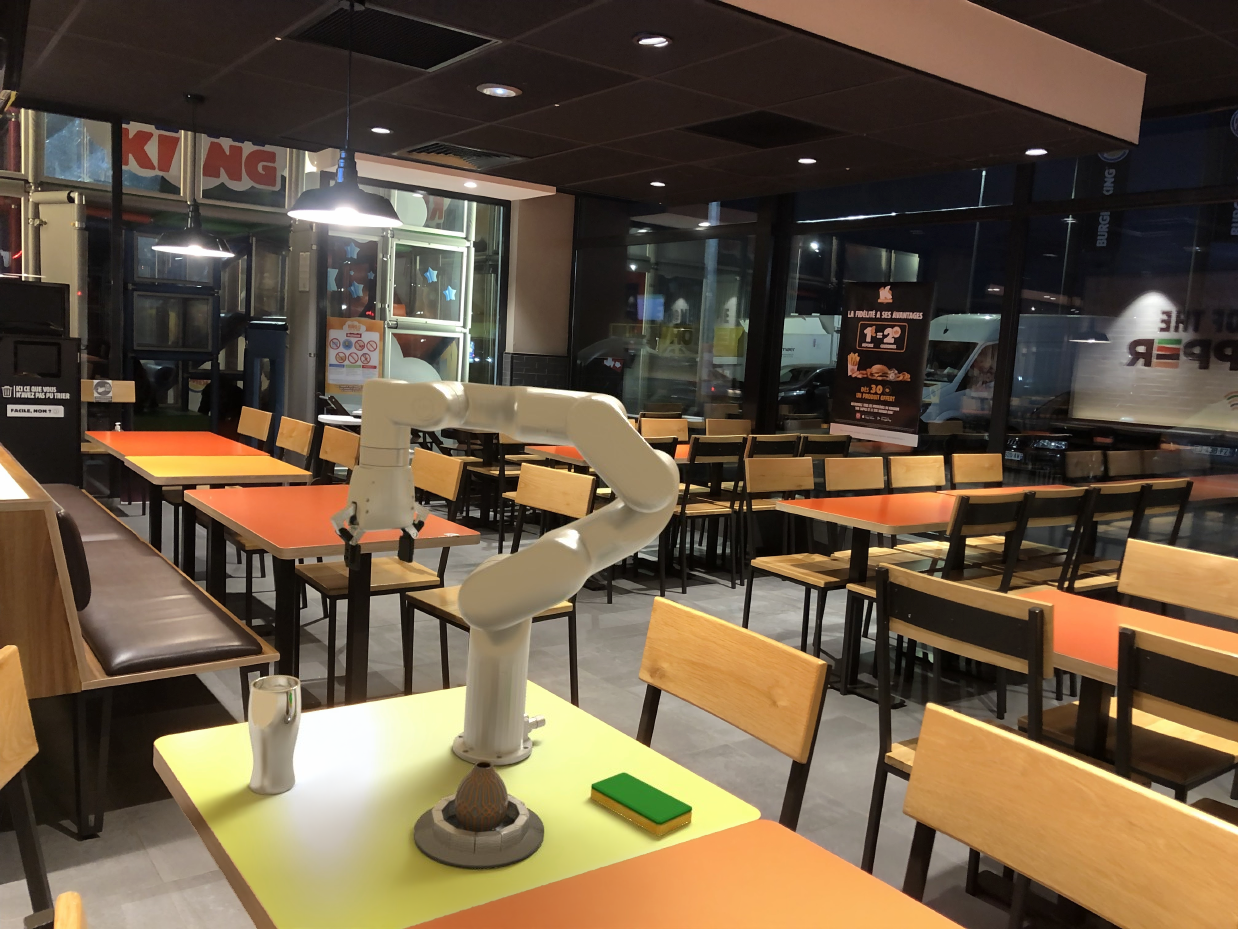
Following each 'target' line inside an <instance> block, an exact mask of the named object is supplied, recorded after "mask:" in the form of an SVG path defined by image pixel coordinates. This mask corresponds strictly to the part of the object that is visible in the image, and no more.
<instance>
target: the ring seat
mask: <svg viewBox="0 0 1238 929" xmlns="http://www.w3.org/2000/svg"><path fill="white" fill-rule="evenodd" d="M507 794H508V805H507V811H506V815H505V817H504V819H503V821H502V823H501V824H500V825H499V827H498V828H496V829H495V830H494V831H487V832H472V831H466V830H465V829H464V828H463V827H462V826H461V825H460V824H459V822H458V820H457V817H456V813H455V797H456V793H454V794H451V795H447V796H445V797H442V798H441V799H440V800H439V801H438V802H437V803H436V804H435V805H434V806H433V807H431V808H429V809H427V810H426V811H425V812H423V814H421V815H420V817H418V819H417V820H416V822H415V825H414V828H413V841H414V845H415V846H416V847H417V849H418V850H419V852H421V854H423V855H424V856H425V857H427V858H428V859H430V860H432V861H434V862H437V863H439V864H442V865H445V866H448V867H452V868H458V869H465V870H489V869H490V870H492V869H498V868H504V867H509V866H511V865H515V864H518V863H520V862H522V861H524V860H526V859H528V858H530V857H531V856H533V855H534V854H535V853H536V852H537V851H538V850H539V849H540V847H541V846H542V844H543V842H544V838H545V826H544V823H543V821H542V819H541V817H539V815H538V814H537V813H536V812H534V811H533V810H531V809H530V808H529V807H527V805H526V803H525V802H524V801H522V800H521V799H519V798H517V797H515V796H513V795H511V794H510V793H508V792H507Z"/></svg>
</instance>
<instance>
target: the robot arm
mask: <svg viewBox="0 0 1238 929" xmlns="http://www.w3.org/2000/svg"><path fill="white" fill-rule="evenodd" d="M361 398H362V399H361V401H362V402H361V420H360V423H361V424H360V442H359V444H360V445H359V446H360V447H359V463H358V464H359V465H354V466H353V470H352V474H351V476H350V481H349V486H348V493H347V498H346V499H347V500H346V506H345V507H343V508H342V509H341V510H339V511H337V512H335V513H334V514H333V515H331V516H330V523H331V524H332V527H333V528H334V533H336V535H337V536H338V537H339V538H340V539H341V542H343V543H344V558H343V559H344V560H343V561H344V563H345V564H344V565H345V567H346V568H347V569H351V570H353V571H359V570H360V569H361V556H362V555H361V553H362V547H361V544H360V543H359V542H360V541H361V539H362V537H363V536H364V535H365V534H366V533H368V532H370V533H371V532H381V531H382V532H383V531H390V530H399V531H400V532H401V534H402V535H399V538H398V551H397V552H398V553H397V559H398V560H399V561H402V562H404V563H408V564H412V563H413V562H414V561H413V560H414V555H415V539H417V538H418V537H419V532H421V530H422V529H423V528H424V526H425V522H426V521H427V518H428V516H429V515H430V509H429V508H427V507H425V506H423V505H421V504H420V503H418V502H416V498H415V496H416V494H415V482H414V474H413V473H414V472H413V469H412V468H413V467H412V466H410V459H413V458H414V457H415V456H416V453H415V451H414V449H411V430H412V429H415V430H416V429H417V430H419V431H425V432H434V431H439V430H444V429H448V428H459V429H460V428H461V429H469V430H480V431H481V430H482V431H486V432H487V431H489V432H494V433H499V434H503V435H506V436H508V437H509V438H511V439H512V440H515V441H518V442H523V443H530V444H540V445H541V444H542V445H543V444H545V445H552V446H554V445H555V446H561V447H562V446H563V447H573V448H575V450H576V451H577V452H578V453H579V455H580V456H581V457H582V458H583V459H584V461H585V462H586V463H587V464H588V465H589V466H590V468H592V470H594V472H595V473H596V474H597V475H598V476H599V478H600V479H602V481H603V482H604V483H605V484H606V485H607V486H608V488H609V489H610V490H611V491H612V492H613V493H614V494H615V495H616V496H617V498H616V499H614V500H613V501H611V502H610V503H609V504H606V505H605V506H602V507H601V508H599V509H597V510H596V511H594V512H592V513H590V514H587V515H585V516H583V517H582V518H579V519H577V520H574V521H571V522H570V523H567V524H566V525H563V526H561V527H557V528H555V529H552V530H550V531H548V532H546V533H544V534H543V535H541V536H540V537H539V538H538V540H536V541H535V542H534V543H533V544H530V545H529V546H527V547H525V548H522V549H521V550H520V549H519V551H517V552H514V553H498V554H494V555H493V556H490V557H489V558H487V559H485V560H484V561H483V562H482V563H480V564H479V565H478V566H477V567H476V568H475V569H474V570H473V571H472V572H471V573H469V575H468V576H467V577H466V578H465V579H464V580H463V581H462V583H461V585H460V587H459V589H458V593H457V601H456V602H457V603H456V604H457V610H458V612H459V616H460V617H461V618H462V619H463V621H464V622H465V623H466V624H467V625H468V626H470V628H469V629H470V630H469V636H468V638H469V640H468V653H467V667H466V668H467V669H466V683H465V684H466V685H465V686H466V687H465V699H464V700H465V703H464V720H463V722H464V723H463V724H464V725H463V731H462V732H461V733H458V734H457V735H456V736H455V737H454V739H453V742H452V750H453V752H454V754H455V755H456V756H458V757H459V758H460V759H462V760H463V761H466V762H469V763H472V764H475V763H476V762H478V761H489V762H491V763H492V764H493V766H505V765H510V764H515V763H519V762H520V761H524V760H525V759H526V758H528V757H529V756H530V755H531V753H532V751H533V740H532V739H531V737H529V734H531V733H532V731H533V730H536V729H539V728H542V727H545V725H546V718H545V717H544V715H542V714H539V715H536V716H533V717H529V714H527V713H526V702H527V701H526V700H527V683H528V670H529V657H530V644H531V632H532V631H531V630H532V622H533V617H535V616H537V615H538V614H541V613H543V612H545V611H548V610H549V609H551V608H553V607H555V606H558V605H560V604H562V603H564V602H565V601H567V600H569V599H571V598H572V597H573V596H574V595H575V594H577V593H578V592H579V591H580V590H581V589H582V587H583V586H584V584H585V583H586V581H587V579H588V578H590V577H591V576H593V575H594V574H596V573H598V572H600V571H602V570H603V569H606V568H608V567H610V566H612V565H614V564H616V563H618V562H619V561H622V560H624V559H626V558H627V557H630V556H631V555H633V554H635V553H637V552H639V551H640V550H642V549H643V548H645V547H646V546H648V545H649V544H650V543H652V542H653V541H654V540H655V539H657V537H658V536H659V535H661V532H663V530H664V529H665V528H666V526H667V525H668V524H669V522H670V520H671V518H672V516H673V514H674V512H675V509H676V506H677V503H678V499H679V492H680V481H681V480H680V471H679V467H678V465H677V463H676V461H675V460H674V459H673V457H672V456H671V455H670V454H668V453H666V452H665V451H663V450H659V449H654V448H653V447H652V446H651V445H650V444H649V443H648V442H647V441H646V440H645V439H644V437H642V436H641V434H640V433H639V432H638V431H637V429H636V428H635V427H634V426H633V425H632V423H631V422H630V421H629V420H628V412H627V411H626V408H625V405H624V404H623V403H622V401H620V400H619V399H618V398H616V397H615V396H612V395H610V394H609V395H608V394H605V393H597V392H587V391H576V390H566V389H555V388H545V387H544V388H543V387H536V386H535V387H533V386H525V385H524V386H523V385H515V386H506V385H495V384H486V383H485V384H484V383H475V382H462V381H457V380H456V381H454V380H434V381H421V382H420V381H419V382H409V381H406V380H402V379H397V378H395V379H394V378H386V377H385V378H383V377H382V378H381V377H373V378H369V379H367V380H366V381H364V384H363V386H362V394H361ZM415 513H416V516H415ZM414 518H415V519H414ZM345 524H346V525H347V526H348V528H346V525H345Z"/></svg>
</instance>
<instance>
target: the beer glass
mask: <svg viewBox="0 0 1238 929" xmlns="http://www.w3.org/2000/svg"><path fill="white" fill-rule="evenodd" d="M247 709H248V710H247V711H248V712H247V716H248V717H247V719H248V720H247V722H248V724H247V726H248V733H249V737H250V738H249V740H250V745H251V751H252V752H251V753H252V760H253V762H252V770H251V771H252V772H251V776H250V780H249V789H250V790H251V791H252V792H253V793H255V794H258V795H266V796H270V795H271V796H272V795H278V794H283V793H285V792H288V791H289V790H291V789H292V788H293V787H294V786H295V785H296V775H295V770H294V753H295V748H296V743H297V739H298V734H299V729H300V723H301V716H302V692H301V681H300V679H299V678H297V677H294V676H291V675H286V674H285V675H283V674H282V675H281V674H278V675H277V674H275V675H274V674H273V675H267V676H263V677H262V676H261V677H259V678H256V679H255V680H253V681H252V682H251V683H250V691H249V699H248V708H247Z"/></svg>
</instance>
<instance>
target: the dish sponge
mask: <svg viewBox="0 0 1238 929" xmlns="http://www.w3.org/2000/svg"><path fill="white" fill-rule="evenodd" d="M590 786H591V787H590V788H591V789H590V799H591V800H594V801H595V800H596V801H595V802H597V803H599V802H600V803H599V804H601V803H602V804H603V805H602V804H601V805H602V806H604V805H605V806H604V807H606V806H607V807H606V808H608V807H609V808H610V809H609V808H608V809H609V810H611V809H612V810H611V811H613V810H614V811H613V812H615V811H616V812H617V814H618V813H619V814H618V815H620V814H622V815H623V816H625V817H626V818H625V817H624V818H625V819H627V818H628V819H627V820H629V819H631V820H632V821H633V823H634V822H635V823H634V824H636V823H637V824H636V825H638V824H639V825H640V827H641V826H643V827H644V828H643V827H642V828H643V829H645V828H646V829H647V830H646V829H645V830H646V831H648V830H649V831H648V832H650V831H651V832H650V833H652V834H653V833H654V834H653V835H655V834H656V835H655V836H659V835H660V836H662V835H665V834H667V833H668V831H669V832H671V831H673V830H676V829H677V828H676V827H678V826H680V827H682V826H683V825H682V824H684V823H686V822H688V823H690V822H689V821H691V822H692V815H693V814H692V813H693V812H692V811H693V806H691V805H689V804H688V803H685V802H684V801H682V800H680V799H677V798H675V797H674V796H672V795H670V794H668V793H666V792H664V791H662V790H660V789H659V788H656V787H654V786H652V785H650V784H648V783H646V782H645V781H642V780H641V779H639V778H637V777H636V776H633V775H631V774H629V773H627V772H621V773H618V774H614V775H612V776H610V777H608V778H607V777H606V778H604V779H602V780H598V781H597V782H594V783H591V785H590ZM616 812H615V813H616ZM622 815H621V816H622ZM623 816H622V817H623ZM632 821H631V822H632ZM686 824H687V823H686ZM639 825H638V826H639ZM681 825H682V826H681ZM684 825H685V824H684ZM678 828H679V827H678ZM670 830H671V831H670ZM666 832H667V833H666ZM664 833H665V834H664ZM661 834H662V835H661Z"/></svg>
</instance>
